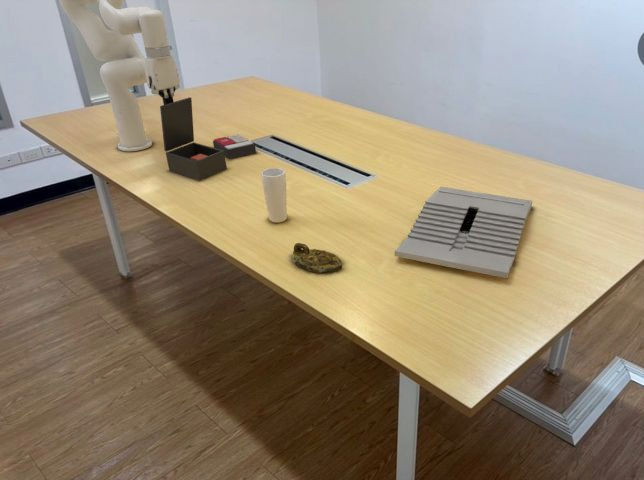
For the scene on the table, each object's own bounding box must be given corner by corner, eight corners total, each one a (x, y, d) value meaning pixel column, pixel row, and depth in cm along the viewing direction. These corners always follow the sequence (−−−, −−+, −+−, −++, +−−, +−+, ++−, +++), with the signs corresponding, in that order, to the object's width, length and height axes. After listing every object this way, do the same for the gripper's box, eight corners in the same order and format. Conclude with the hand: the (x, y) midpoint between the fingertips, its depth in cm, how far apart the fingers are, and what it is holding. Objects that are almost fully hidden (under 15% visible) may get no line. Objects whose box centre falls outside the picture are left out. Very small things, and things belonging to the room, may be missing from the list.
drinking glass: (267, 214, 168) (262, 167, 159) (290, 213, 168) (285, 167, 160) (265, 225, 162) (260, 177, 154) (289, 224, 163) (284, 176, 154)
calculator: (238, 133, 218) (254, 141, 208) (240, 143, 220) (256, 153, 210) (211, 138, 213) (227, 147, 202) (213, 149, 215) (229, 159, 205)
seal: (350, 264, 146) (301, 251, 151) (351, 248, 144) (301, 235, 149) (333, 278, 138) (282, 264, 144) (334, 261, 136) (282, 247, 141)
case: (227, 168, 197) (224, 150, 194) (199, 180, 189) (196, 161, 185) (196, 159, 204) (193, 142, 201) (169, 171, 196) (165, 152, 192)
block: (192, 169, 195) (190, 157, 192) (202, 165, 198) (200, 153, 195) (201, 172, 193) (199, 160, 190) (211, 168, 196) (209, 156, 193)
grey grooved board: (437, 193, 180) (438, 181, 178) (528, 206, 172) (530, 193, 170) (398, 262, 145) (399, 248, 142) (511, 281, 137) (513, 267, 135)
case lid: (191, 97, 190) (189, 97, 190) (161, 106, 181) (159, 106, 182) (194, 141, 200) (192, 140, 201) (165, 151, 191) (164, 150, 192)
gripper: (169, 46, 186) (179, 102, 196) (131, 54, 176) (144, 112, 186) (184, 49, 183) (194, 105, 193) (146, 57, 172) (159, 116, 182)
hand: (169, 108), depth 189 cm, fingers closed
